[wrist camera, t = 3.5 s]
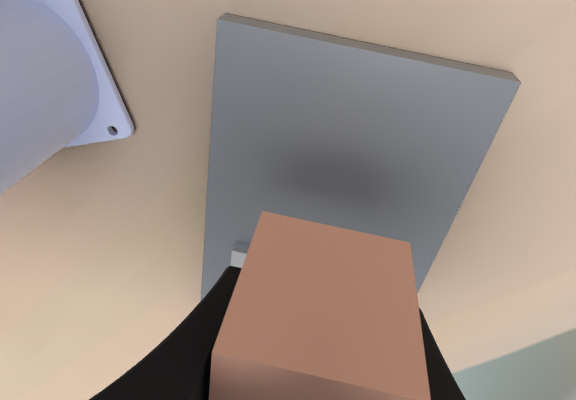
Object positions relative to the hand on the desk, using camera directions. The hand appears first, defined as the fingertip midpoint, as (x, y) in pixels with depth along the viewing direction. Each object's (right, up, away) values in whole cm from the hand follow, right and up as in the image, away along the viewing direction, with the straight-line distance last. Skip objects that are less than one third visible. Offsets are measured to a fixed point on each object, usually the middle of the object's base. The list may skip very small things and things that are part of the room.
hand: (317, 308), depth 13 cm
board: (+1, +2, +10) cm, 10 cm away
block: (0, +1, +1) cm, 1 cm away
